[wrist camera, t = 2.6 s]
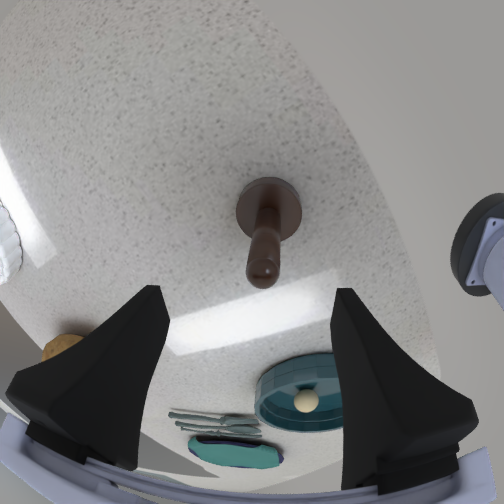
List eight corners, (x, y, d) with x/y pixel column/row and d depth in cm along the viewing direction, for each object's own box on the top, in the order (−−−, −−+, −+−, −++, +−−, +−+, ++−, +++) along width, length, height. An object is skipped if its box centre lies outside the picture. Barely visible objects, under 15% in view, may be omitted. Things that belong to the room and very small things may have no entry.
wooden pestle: (301, 177, 19) (314, 240, 11) (299, 234, 21) (306, 318, 14) (237, 177, 19) (207, 238, 12) (240, 233, 21) (218, 315, 14)
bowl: (393, 347, 27) (400, 372, 24) (360, 409, 35) (362, 429, 32) (254, 350, 29) (251, 377, 26) (258, 411, 37) (256, 431, 34)
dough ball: (319, 384, 31) (320, 405, 28) (316, 396, 32) (317, 415, 30) (294, 384, 31) (294, 405, 28) (293, 396, 32) (292, 416, 30)
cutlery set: (202, 457, 55) (201, 464, 53) (158, 404, 39) (154, 415, 37) (284, 462, 52) (284, 470, 50) (282, 414, 37) (281, 427, 35)
